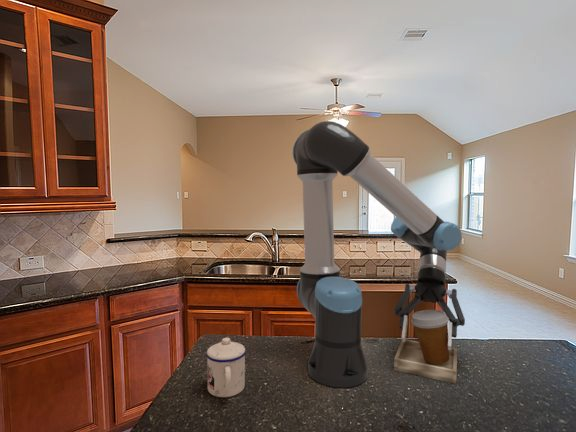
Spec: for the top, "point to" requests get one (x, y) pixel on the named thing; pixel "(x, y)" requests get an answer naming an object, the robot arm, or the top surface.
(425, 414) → the top surface
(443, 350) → the disposable coffee cup
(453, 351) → the birch tray
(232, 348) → the teacup with lid
